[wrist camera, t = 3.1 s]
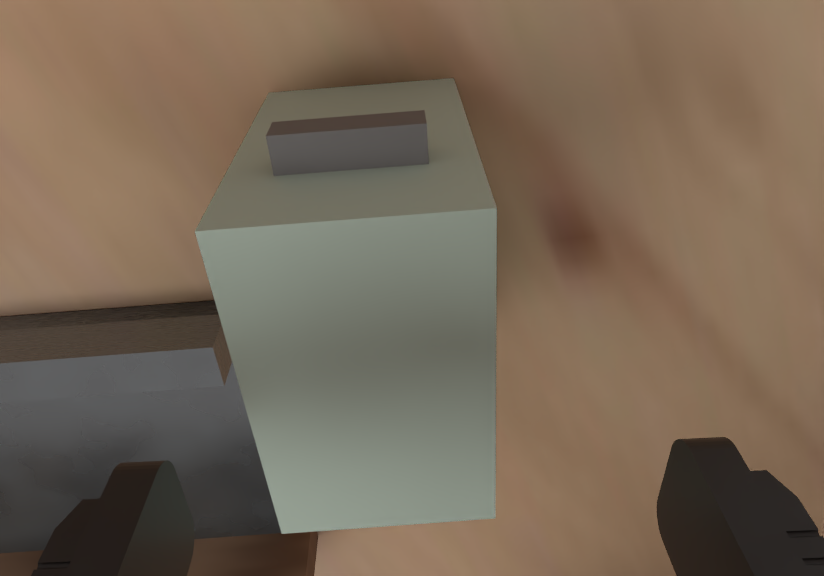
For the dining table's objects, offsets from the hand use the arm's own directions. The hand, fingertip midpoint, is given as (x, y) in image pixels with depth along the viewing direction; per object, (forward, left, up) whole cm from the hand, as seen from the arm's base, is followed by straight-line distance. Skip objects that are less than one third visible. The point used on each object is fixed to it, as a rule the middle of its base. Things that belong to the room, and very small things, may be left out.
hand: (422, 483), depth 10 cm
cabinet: (+1, 0, -11) cm, 11 cm away
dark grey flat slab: (+15, +8, -10) cm, 20 cm away
